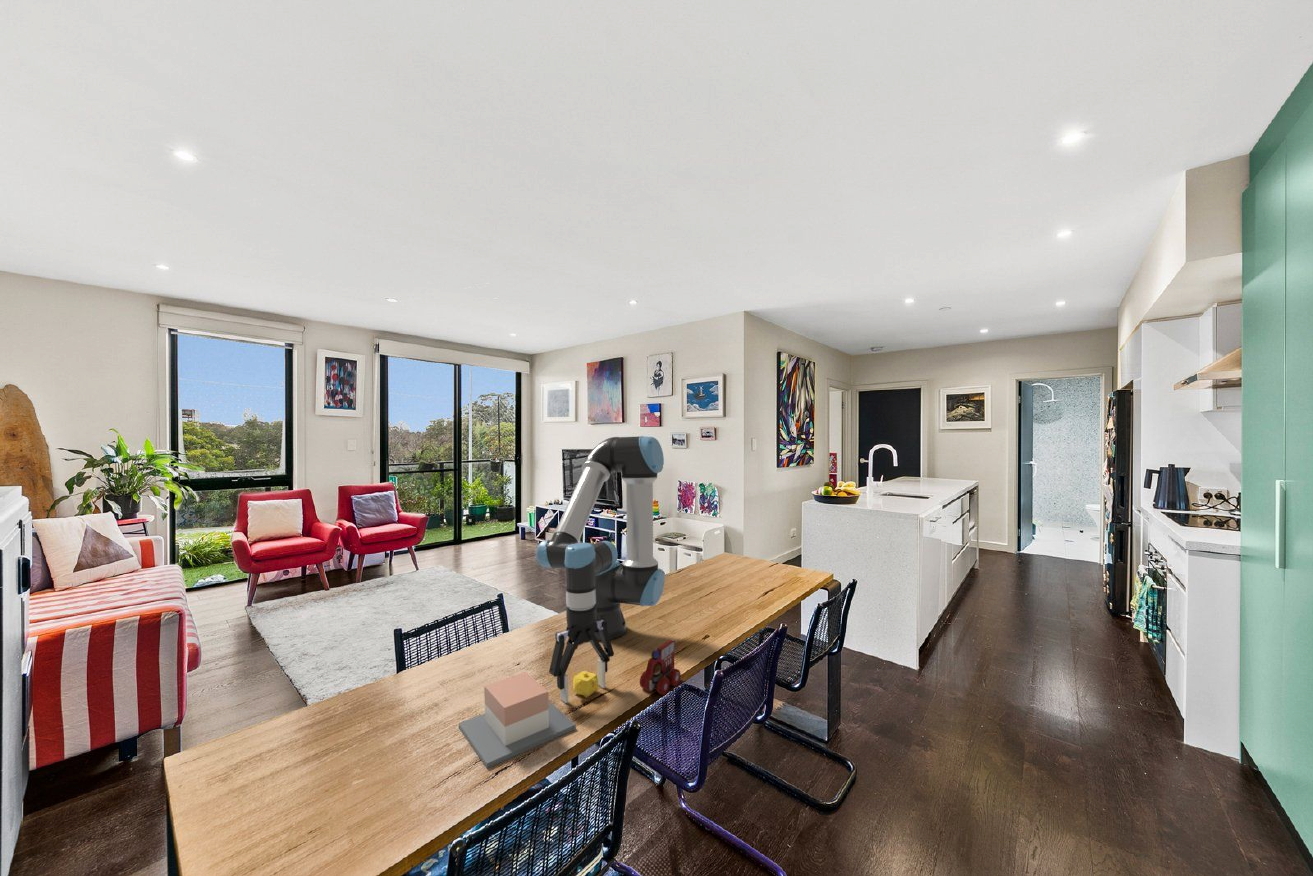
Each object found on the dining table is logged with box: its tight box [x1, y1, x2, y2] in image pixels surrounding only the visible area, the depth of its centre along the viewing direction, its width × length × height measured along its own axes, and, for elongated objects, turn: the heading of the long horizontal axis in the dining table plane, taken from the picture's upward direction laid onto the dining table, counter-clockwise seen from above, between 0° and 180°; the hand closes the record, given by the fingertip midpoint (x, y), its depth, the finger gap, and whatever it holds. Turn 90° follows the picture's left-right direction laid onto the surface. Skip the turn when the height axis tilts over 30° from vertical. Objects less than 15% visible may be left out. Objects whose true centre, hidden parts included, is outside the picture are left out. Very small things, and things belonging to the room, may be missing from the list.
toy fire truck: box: [639, 639, 682, 696], centre depth 128 cm, size 7×12×10 cm, turn 144°
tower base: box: [458, 671, 577, 769], centre depth 112 cm, size 20×18×9 cm
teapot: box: [571, 670, 599, 698], centre depth 126 cm, size 8×6×5 cm
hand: (583, 692), depth 126 cm, fingers open, 10 cm apart
